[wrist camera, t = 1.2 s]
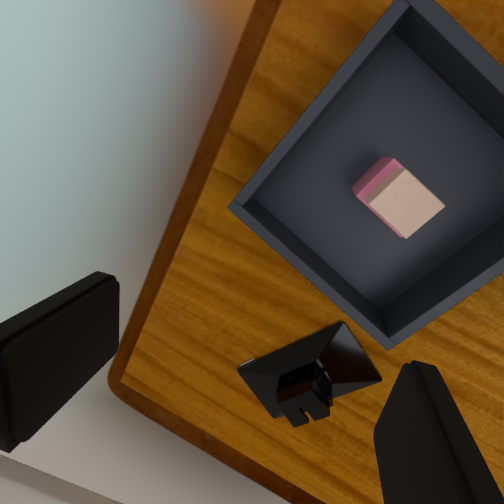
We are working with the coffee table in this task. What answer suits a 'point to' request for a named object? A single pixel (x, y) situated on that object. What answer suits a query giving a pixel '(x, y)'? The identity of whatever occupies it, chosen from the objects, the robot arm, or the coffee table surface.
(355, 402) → the coffee table surface
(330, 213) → the basin
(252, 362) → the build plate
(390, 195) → the pink block
